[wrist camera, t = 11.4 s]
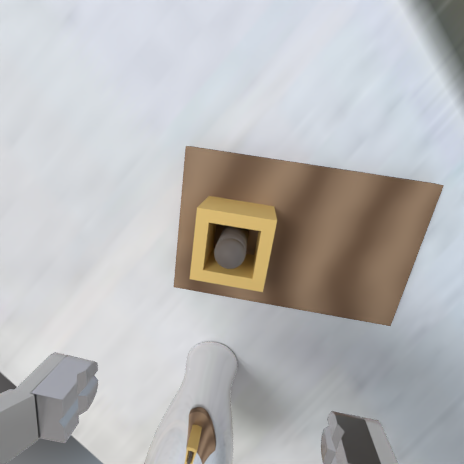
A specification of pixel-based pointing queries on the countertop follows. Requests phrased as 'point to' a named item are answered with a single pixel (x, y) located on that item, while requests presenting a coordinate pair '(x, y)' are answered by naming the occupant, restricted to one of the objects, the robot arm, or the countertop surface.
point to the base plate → (311, 232)
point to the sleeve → (234, 215)
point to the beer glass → (199, 411)
